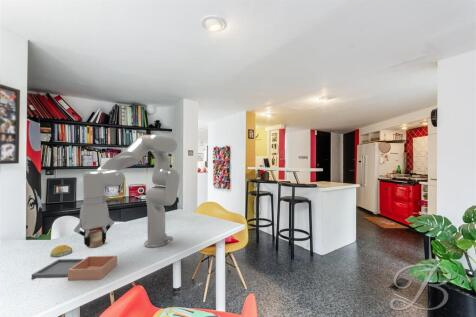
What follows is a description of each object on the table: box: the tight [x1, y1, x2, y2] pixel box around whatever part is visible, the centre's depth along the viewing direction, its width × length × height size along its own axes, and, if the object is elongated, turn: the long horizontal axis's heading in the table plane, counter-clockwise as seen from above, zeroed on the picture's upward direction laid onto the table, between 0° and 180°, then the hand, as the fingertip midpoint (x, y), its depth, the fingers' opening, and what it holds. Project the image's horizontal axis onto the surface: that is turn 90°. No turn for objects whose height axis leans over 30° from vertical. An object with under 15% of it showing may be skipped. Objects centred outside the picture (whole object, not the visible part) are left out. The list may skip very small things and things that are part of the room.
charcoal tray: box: [31, 258, 85, 280], centre depth 97 cm, size 14×14×2 cm
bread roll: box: [50, 244, 73, 258], centre depth 114 cm, size 8×9×4 cm
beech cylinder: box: [88, 230, 103, 249], centre depth 95 cm, size 5×5×6 cm
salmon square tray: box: [67, 255, 118, 281], centre depth 94 cm, size 13×13×4 cm
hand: (95, 243), depth 95 cm, fingers closed on beech cylinder, 4 cm apart
